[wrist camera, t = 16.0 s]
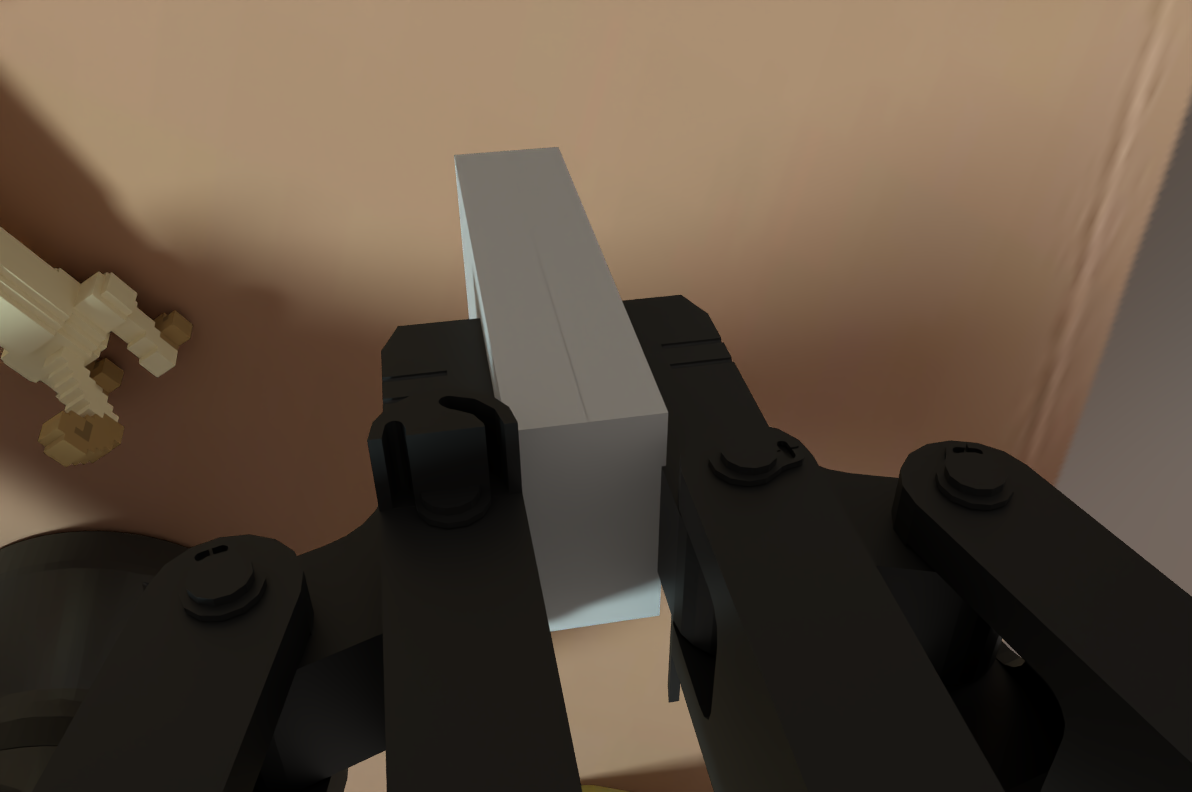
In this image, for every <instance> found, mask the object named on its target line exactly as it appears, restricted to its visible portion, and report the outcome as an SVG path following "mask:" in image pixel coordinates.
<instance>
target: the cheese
mask: <svg viewBox="0 0 1192 792" xmlns="http://www.w3.org/2000/svg"><path fill="white" fill-rule="evenodd" d="M581 787H582V792H630V791H624V790H618V789H612V788H607V787H601V786H595V785H581Z"/></svg>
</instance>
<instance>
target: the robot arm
mask: <svg viewBox="0 0 1192 792" xmlns="http://www.w3.org/2000/svg"><path fill="white" fill-rule="evenodd" d="M454 159H455V170H456V180H457V191H458V202H459V213H460V224H461V235H462V246H463V257H464V268H465V278H466V289H467V300H468V311H469V319H466V320H456V321H446V322H436V323H426V324H417V325H407V326H398V327H397V329H396V330H395V332H394V333H393V335H392V336H391V337H390V339H389V340H388V342H387V343H386V345H385V346H384V348H383V349H382V351H381V359H382V381H383V383H382V393H383V413H382V414H381V415H380V416H379V417H378V418H377V419H376V420H375V421H374V422H373V423H372V426H371V430H370V433H369V436H368V439H367V442H368V448H369V453H370V459H371V465H372V471H373V476H374V482H375V488H376V494H377V499H378V507H377V509H376V511H375V512H374V513H373V514H372V515H371V516H370V517H369V518H368V519H367V520H366V521H365V523H364V524H363V525H361V526H360V527H358V528H357V529H355V530H354V531H353V532H351V533H350V534H348V535H347V536H345V537H343V538H341V539H339V540H337V541H334V542H332V543H330V544H328V545H326V546H323V547H321V548H318V549H315V550H312V551H310V552H307V553H304V554H302V555H299V556H296V554H295V552H294V551H293V550H291V549H290V548H288V547H287V546H285V545H283V544H282V543H280V542H279V541H277V540H276V539H271V538H265V537H260V536H255V535H240V536H230V537H220V538H217V539H214V540H211V541H209V542H206V543H203V544H200V545H197V546H194V547H192V548H189V549H188V548H185V547H183V546H180V545H177V544H174V543H170V542H167V541H164V540H160V539H156V538H151V537H146V536H141V535H135V534H128V533H119V532H103V531H82V532H68V533H59V534H52V535H46V536H41V537H37V538H32V539H29V540H25V541H22V542H18V543H16V544H13V545H10V546H7V547H5V548H3V549H0V792H344V788H345V785H346V781H347V776H348V768H349V767H351V766H353V765H355V764H357V763H359V762H362V761H364V760H366V759H368V758H370V757H372V756H374V755H376V754H379V753H381V752H383V751H385V750H386V778H387V792H582V787H581V783H580V778H579V773H578V768H577V763H576V758H575V753H574V748H573V743H572V738H571V733H570V728H569V723H568V718H567V713H566V708H565V703H564V698H563V693H562V688H561V683H560V678H559V673H558V668H557V663H556V658H555V653H554V648H553V643H552V638H551V633H550V632H551V631H557V630H564V629H571V628H578V627H584V626H591V625H598V624H605V623H611V622H618V621H625V620H632V619H638V618H645V617H652V616H659V615H660V592H661V584H662V587H663V590H664V593H665V596H666V599H667V602H668V605H669V608H670V611H671V614H672V615H671V634H670V653H669V672H668V697H669V702H675V701H679V693H680V684H681V687H682V691H683V694H684V697H685V700H686V703H687V707H688V710H689V713H690V716H691V719H692V723H693V726H694V729H695V732H696V735H697V739H698V742H699V745H700V748H701V752H702V755H703V758H704V761H705V764H706V768H707V771H708V774H709V777H710V780H711V784H712V787H713V790H714V792H1192V596H1190V595H1189V594H1188V593H1186V592H1185V591H1184V590H1183V589H1181V588H1180V587H1179V586H1178V585H1176V584H1175V583H1174V582H1173V581H1171V580H1170V579H1169V578H1167V577H1166V576H1165V575H1164V574H1163V573H1161V572H1160V571H1159V570H1158V569H1156V568H1155V567H1154V566H1153V565H1151V564H1150V563H1149V562H1148V561H1146V560H1145V559H1144V558H1143V557H1141V556H1140V555H1139V554H1137V553H1136V552H1135V551H1134V550H1133V549H1131V548H1130V547H1129V546H1128V545H1126V544H1125V543H1124V542H1123V541H1121V540H1120V539H1119V538H1117V537H1116V536H1115V535H1114V534H1112V533H1111V532H1110V531H1109V530H1108V529H1106V528H1105V527H1104V526H1103V525H1101V524H1100V523H1098V522H1097V521H1096V520H1095V519H1094V518H1092V517H1091V516H1090V515H1089V514H1087V513H1086V512H1085V511H1084V510H1082V509H1081V508H1080V507H1079V506H1077V505H1076V504H1075V503H1074V502H1072V501H1071V500H1070V499H1069V498H1067V497H1066V496H1065V495H1064V494H1062V493H1061V492H1060V491H1059V490H1057V489H1056V488H1055V487H1054V486H1052V485H1051V484H1050V483H1049V482H1047V481H1046V480H1045V479H1044V478H1042V477H1041V476H1040V475H1039V474H1037V473H1036V472H1035V471H1034V470H1032V469H1031V468H1030V467H1029V466H1027V465H1026V464H1024V463H1022V462H1021V461H1019V460H1017V459H1016V458H1014V457H1012V456H1011V455H1009V454H1007V453H1006V452H1004V451H1001V450H998V449H995V448H991V447H988V446H985V445H982V444H979V443H972V442H961V441H944V442H938V443H932V444H926V445H925V446H923V447H921V448H919V449H917V450H915V451H914V452H912V453H910V454H909V455H908V457H907V459H906V460H905V462H904V464H903V465H902V467H901V470H900V474H899V478H892V477H882V476H872V475H862V474H852V473H846V472H840V471H834V470H829V469H826V468H823V467H820V466H819V465H818V464H817V462H816V460H815V458H814V457H813V455H812V454H811V453H810V452H809V451H808V449H807V448H806V447H805V446H804V445H803V444H802V443H801V442H800V441H799V440H798V439H796V438H794V437H792V436H790V435H789V434H787V433H785V432H783V431H781V430H779V429H776V428H772V427H769V426H768V424H767V422H766V420H765V419H764V417H763V415H762V413H761V411H760V409H759V407H758V406H757V404H756V402H755V400H754V398H753V396H752V394H751V393H750V391H749V389H748V387H747V385H746V383H745V381H744V380H743V378H742V376H741V374H740V372H739V370H738V368H737V367H736V365H735V363H734V362H732V360H731V356H730V354H729V352H728V350H727V348H726V346H725V344H724V343H721V337H720V335H719V333H718V331H717V330H716V328H715V326H714V324H713V322H712V320H711V318H710V317H709V315H708V314H707V313H706V312H705V311H703V310H702V309H700V308H699V307H697V306H696V305H695V304H693V303H692V302H690V301H689V300H688V299H686V298H685V297H683V296H682V295H675V296H665V297H655V298H645V299H635V300H625V301H622V300H621V297H620V295H619V292H618V290H617V288H616V285H615V283H614V280H613V278H612V275H611V273H610V271H609V268H608V266H607V263H606V261H605V259H604V256H603V254H602V251H601V249H600V246H599V244H598V242H597V239H596V237H595V234H594V232H593V230H592V227H591V225H590V222H589V220H588V217H587V215H586V213H585V210H584V208H583V205H582V203H581V201H580V198H579V196H578V193H577V191H576V188H575V186H574V184H573V181H572V179H571V176H570V174H569V172H568V169H567V167H566V164H565V162H564V159H563V157H562V155H561V152H560V150H559V147H552V148H539V149H526V150H513V151H500V152H487V153H474V154H461V155H454ZM1002 638H1003V639H1004V640H1005V641H1006V642H1007V643H1008V644H1009V645H1010V646H1011V647H1012V648H1013V649H1014V650H1015V651H1016V652H1017V653H1018V654H1019V655H1020V656H1021V657H1022V658H1021V657H1019V656H1018V655H1017V654H1015V653H1014V652H1013V651H1012V650H1010V649H1009V648H1008V647H1007V646H1006V645H1005V644H1004V643H1003V642H1002Z"/></svg>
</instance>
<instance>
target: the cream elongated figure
mask: <svg viewBox="0 0 1192 792" xmlns="http://www.w3.org/2000/svg"><path fill="white" fill-rule="evenodd" d="M136 297H137V293H136V292H135V291H134V290H133V289H131V288H130V287H129V286H128V285H127V284H125V283H124V282H123V281H122V280H120V279H119V278H118V277H117V276H116V275H114V274H113V273H112V272H111V273H110V274H109V273H107V272H106V273H105V274H102V273H101V272H99V271H98V272H97V273H95V274H94V275H93V276H91V277H90V278H88V279H87V280H86V281H84V282H83V283H81V284H80V283H79V282H78V281H76V280H75V279H74V278H72V277H71V276H70V275H69V274H67V273H66V272H65V271H64V270H62V269H61V268H59V269H57V268H52V267H51V266H50V265H49V264H47V263H46V262H45V261H44V260H42V259H41V258H40V257H38V256H37V255H36V254H35V253H33V252H32V251H31V250H30V249H28V248H27V247H26V246H24V245H23V244H22V243H21V242H19V241H18V240H17V239H16V238H14V237H13V236H12V235H10V234H9V233H8V232H7V231H5V230H4V229H3V228H2V227H0V346H1V347H2V348H4V351H3V353H2V356H1V360H3V361H4V364H6V365H7V366H9V367H10V368H12V369H13V370H15V371H16V372H17V373H19V374H20V375H22V376H23V377H25V378H26V379H28V380H29V381H31V382H32V381H33V382H35V383H37V382H38V381H40V380H41V381H42V382H44V383H45V384H46V385H48V386H49V387H51V388H52V389H53V390H54V391H55V392H57V395H56V398H58V399H59V401H60V402H62V403H63V404H65V405H66V407H65V412H67V413H65V412H64V411H61V412H60V413H58V414H57V415H55V416H54V417H52V418H51V419H49V420H48V421H46V422H45V423H44V424H43V426H42V429H41V432H40V436H39V439H38V442H39V443H40V444H42V445H43V446H45V449H44V453H45V454H46V455H48V456H49V457H51V458H52V459H54V460H55V461H57V462H59V463H60V464H62V465H63V466H65V467H67V466H69V465H70V464H73V465H74V466H76V465H77V464H79V463H82V464H85V463H87V462H91V463H94V462H95V461H97V460H98V459H100V458H101V457H103V456H104V455H106V454H107V453H109V452H110V451H111V450H112V449H114V448H115V447H117V446H118V445H120V444H121V440H122V436H123V431H124V426H122V425H121V424H119V423H118V419H119V417H118V416H117V415H116V414H114V413H113V412H112V411H113V406H112V405H110V404H109V403H108V402H107V400H108V396H109V393H110V392H112V391H113V390H115V389H116V388H118V387H119V386H121V382H122V377H123V373H124V371H123V370H122V369H120V368H119V367H118V366H116V365H115V364H114V363H112V362H111V361H110V360H108V359H107V358H104V359H103V360H101V361H100V362H99V361H97V360H96V359H97V358H99V356H100V352H101V351H103V350H104V349H106V348H107V344H108V341H109V337H110V333H111V331H112V332H113V333H115V334H116V335H117V336H119V337H120V338H121V339H123V340H124V341H125V342H126V343H128V346H127V349H128V350H129V351H131V352H132V353H133V354H134V355H136V356H137V357H138V358H139V364H140V365H141V366H143V367H144V368H145V369H147V370H148V371H149V372H151V373H152V374H153V375H155V376H156V377H157V378H158V377H159V376H161V375H162V374H164V373H165V372H167V371H168V370H170V369H171V368H173V367H174V366H175V365H176V359H177V353H178V347H179V346H180V345H182V344H183V343H184V342H186V341H187V340H189V339H190V338H191V332H192V326H193V325H192V324H191V323H190V322H189V321H188V320H186V319H185V318H184V317H183V316H182V315H180V314H179V313H178V312H177V311H176V310H174V311H173V312H171V313H170V314H168V315H167V314H166V313H165V312H164V313H163V314H161V315H160V316H158V317H157V318H155V319H154V320H152V319H151V318H149V317H148V316H147V315H146V314H144V313H143V312H142V311H141V310H139V309H138V308H137V303H138V302H136Z"/></svg>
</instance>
